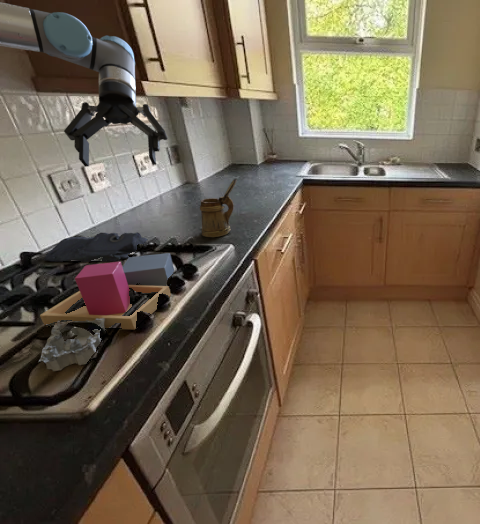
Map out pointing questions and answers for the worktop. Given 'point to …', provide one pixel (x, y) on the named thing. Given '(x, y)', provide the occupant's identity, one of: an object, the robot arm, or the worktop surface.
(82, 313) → the tray
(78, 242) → the dark slate chunk
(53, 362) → the grey lumpy chunk
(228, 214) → the wooden mug
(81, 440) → the worktop surface
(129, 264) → the grey block
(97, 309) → the pink block
